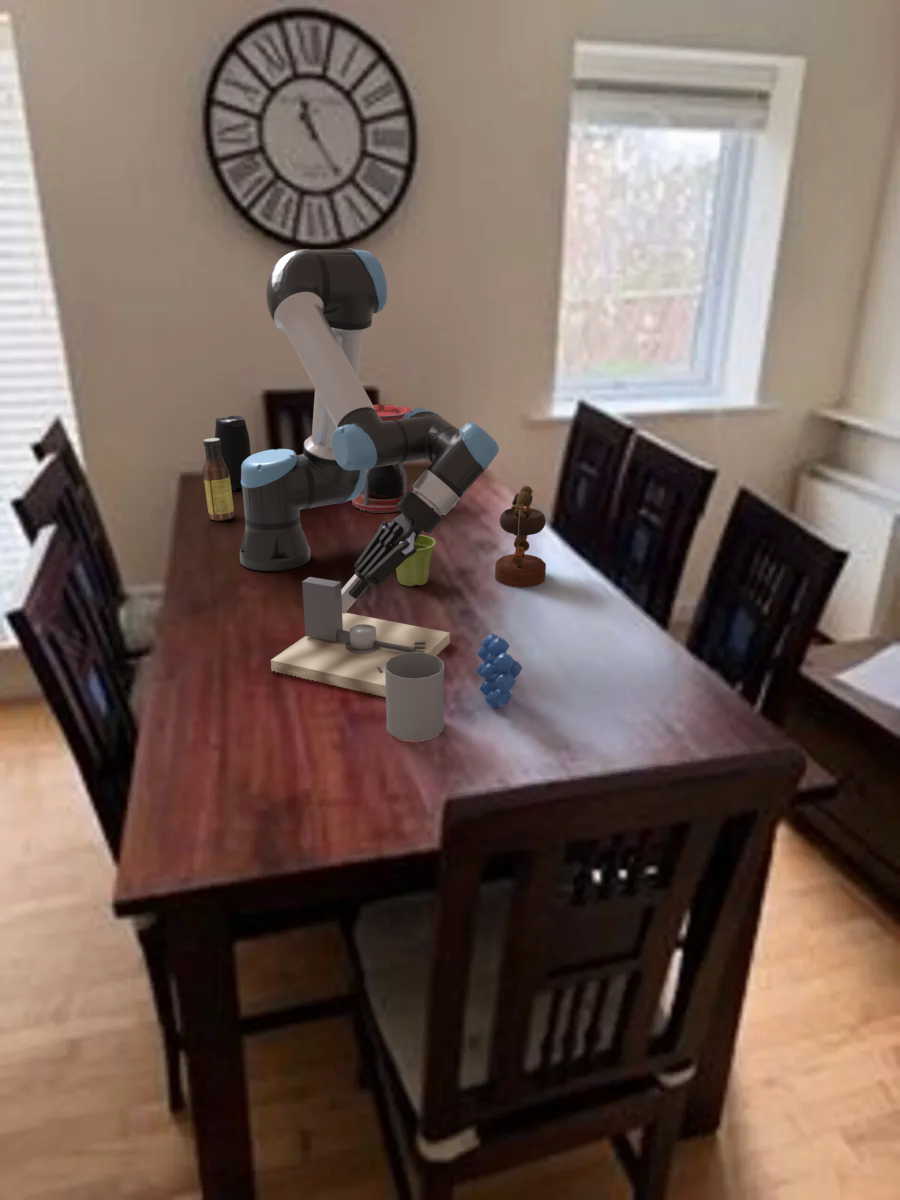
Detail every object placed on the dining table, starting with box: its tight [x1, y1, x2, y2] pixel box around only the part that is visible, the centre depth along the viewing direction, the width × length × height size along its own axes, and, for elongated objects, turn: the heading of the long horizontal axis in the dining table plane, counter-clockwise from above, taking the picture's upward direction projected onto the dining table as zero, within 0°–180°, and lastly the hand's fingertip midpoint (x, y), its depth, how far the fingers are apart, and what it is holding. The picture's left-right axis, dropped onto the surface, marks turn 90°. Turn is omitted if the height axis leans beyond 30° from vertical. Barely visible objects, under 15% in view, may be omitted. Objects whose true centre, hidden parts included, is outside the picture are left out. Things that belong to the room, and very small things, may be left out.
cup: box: [385, 652, 445, 741], centre depth 126 cm, size 8×8×10 cm
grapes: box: [475, 633, 524, 709], centre depth 131 cm, size 12×7×12 cm, turn 16°
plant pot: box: [395, 534, 437, 587], centre depth 180 cm, size 9×9×9 cm
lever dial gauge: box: [301, 576, 416, 653], centre depth 146 cm, size 20×4×10 cm, turn 67°
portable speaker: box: [214, 415, 252, 492], centre depth 244 cm, size 9×9×20 cm
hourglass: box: [351, 404, 413, 514], centre depth 228 cm, size 16×16×25 cm
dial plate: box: [270, 612, 451, 698], centre depth 148 cm, size 22×22×2 cm
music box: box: [494, 485, 547, 588], centre depth 181 cm, size 15×11×20 cm
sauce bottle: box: [202, 437, 235, 522], centre depth 217 cm, size 7×6×20 cm
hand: (337, 608), depth 151 cm, fingers closed
